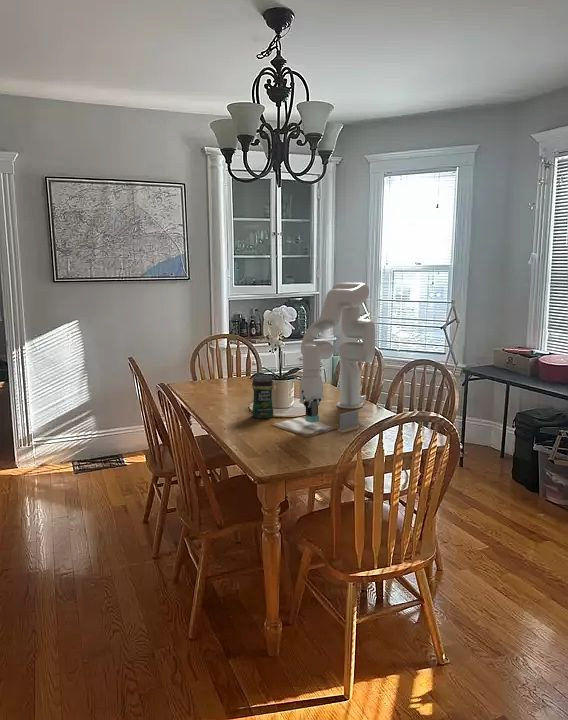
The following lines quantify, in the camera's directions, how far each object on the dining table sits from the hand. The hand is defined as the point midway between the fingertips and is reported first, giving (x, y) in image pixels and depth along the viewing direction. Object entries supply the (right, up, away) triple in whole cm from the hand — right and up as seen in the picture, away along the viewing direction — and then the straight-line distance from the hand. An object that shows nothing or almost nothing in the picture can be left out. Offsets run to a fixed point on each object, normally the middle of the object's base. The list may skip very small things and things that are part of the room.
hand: (311, 414), depth 250 cm
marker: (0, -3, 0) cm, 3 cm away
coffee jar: (-21, -3, +17) cm, 28 cm away
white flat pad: (-3, -5, 0) cm, 6 cm away
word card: (+15, -6, -4) cm, 17 cm away
